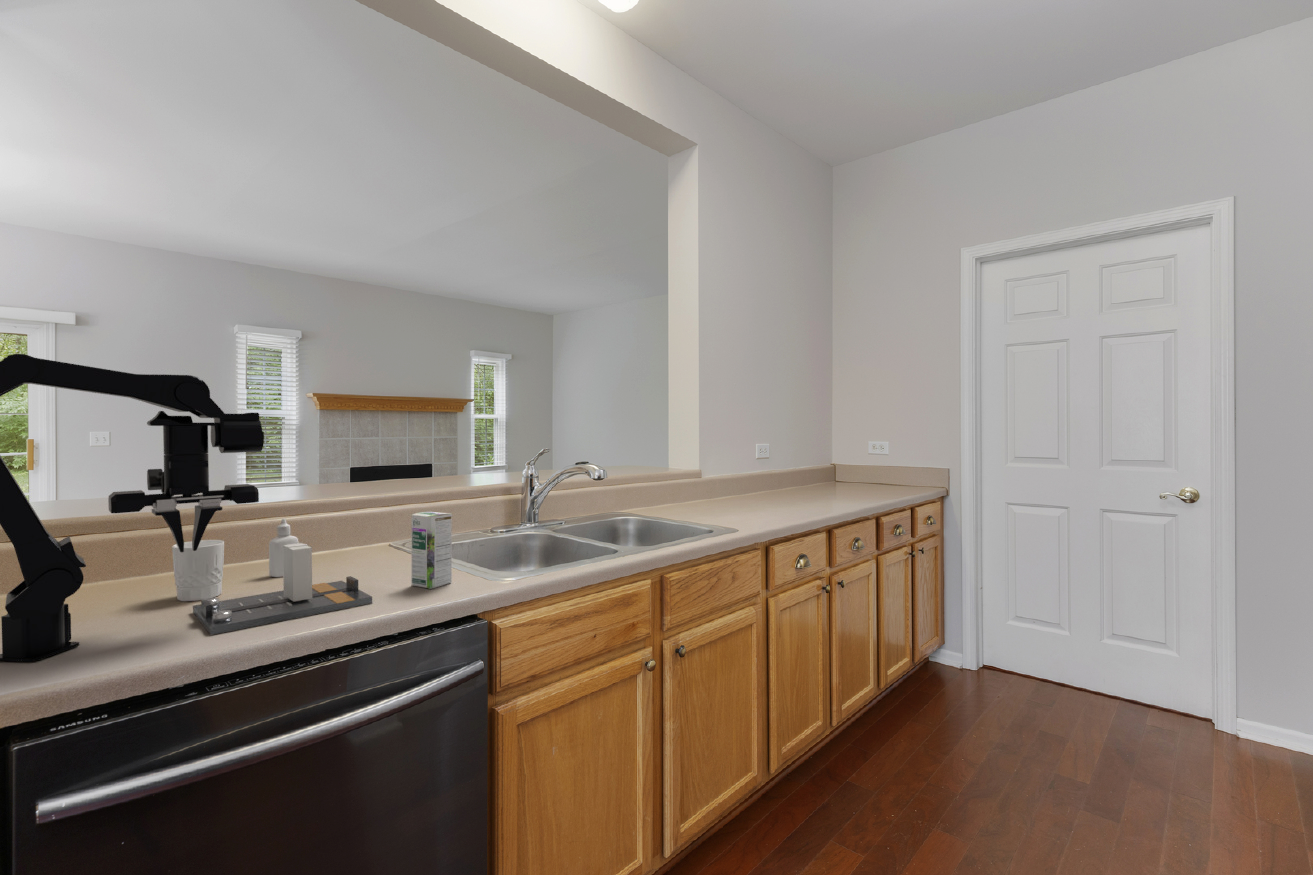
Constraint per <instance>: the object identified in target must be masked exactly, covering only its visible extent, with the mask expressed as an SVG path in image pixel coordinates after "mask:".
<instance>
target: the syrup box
mask: <svg viewBox="0 0 1313 875" xmlns="http://www.w3.org/2000/svg"><path fill="white" fill-rule="evenodd" d="M452 514H453V513H451V512H450V513H449V512H435V511H422V512H421V511H419V512H416V513H413V514H411V581H410V584H411V586H412V587H419V588H425V589H430V590H431V589H435V588H438V587H442V586H445V585H448V584H451V583H452V581H453V580H452V578H453V577H452V576H453V575H452V566H453V565H452V564H453V563H452V562H453V561H452V559H453V557H452V554H453V551H452V549H453V548H452V546H453V542H452V541H453V539H452V538H453V535H452V534H453V533H452V532H453V528H452V527H453V526H452V524H453V522H452V518H453V515H452Z"/></svg>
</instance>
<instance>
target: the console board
mask: <svg viewBox="0 0 1313 875" xmlns="http://www.w3.org/2000/svg"><path fill="white" fill-rule="evenodd" d="M345 579H346V581H343V580H337V581H331V582H321V583H316V584H312V598H311V599H305V600H300V601H294V602H293V601H292V600H290V599H289V598H287V597H286V596H285V595H284V589H283V590H277V591H271V592H267V593H261V594H255V595H254V594H253V595H248V596H242V597H237V598H230V599H224V600H220V598H218V597H213V598H209V599H204V600H200V602H201V603H200V604H194V605H192V613H193V615H195V617H196V619H198V621H199V622H200V623H201V625H202V626H203V625H204V626H203V627H204V628H205V630H206V631H207V632H208V633H209V635H211V636H214V635H220V634H223V633H228V632H229V633H230V632H233V631H234V632H235V631H239V630H238V629H240V630H244V629H248V628H249V627H250V628H253V626H255V627H258V626H257V625H260V626H264V625H270V624H274V622H275V623H279V621H280V622H284V621H290V620H295V619H299V618H300V619H301V618H306V617H310V616H315V615H319V614H325V613H330V612H333V611H334V612H335V611H339V610H345V609H349V608H354V607H360V606H365V605H370V604H373V596H372V595H370V594H368V593H366V592H364V591H362V590H361V589H359V579H357V578H355V577H354V576H346V578H345ZM269 623H270V624H269Z"/></svg>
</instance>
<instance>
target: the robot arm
mask: <svg viewBox="0 0 1313 875" xmlns="http://www.w3.org/2000/svg"><path fill="white" fill-rule="evenodd" d="M23 385H36V386H43V387H44V386H45V387H51V388H58V389H63V390H64V389H65V390H72V391H80V392H86V393H94V394H100V395H109V396H114V397H122V398H127V399H128V398H130V399H132V400H135V401H138V402H139V401H141V402H142V403H146V404H150V405H153V406H155V407H159V408H163V409H166V410H170V411H173V412H178V413H191V414H193V415H194V416H196V417H198V418H199V419H213V420H214V421H213V422H193V417H192V416H191V415H168V414H167V413H166V412H165V411H164V410H159V411H158V412H157V413H156V415H154V417H153V418H151V419H150V420H148V421H147V422H146V425H147V426H150V427H162V429H163V430H162V431H163V432H162V433H163V434H162V435H163V438H162V440H163V469H162V468H150V469H147V471H146V482H147V483H146V485H147V490H148V491H160V492H161V493H154V494H153V493H152V494H146V493H145V492H144V491H143V490H124V491H121V490H120V491H112V492H111V494H109V495H108V511H109V512H110V514H125V513H137V512H141V511H142V509H144V508H146V507H152V508H151V509H150V510H151V513H152V514H153V515H154V516H161V517H162V518H163V519H164V521H165V523H166V524H167V526H168V528H169V530H170V532H171V534H172V536H173V540H174V542H175V543H176V544H177V546H178V548H179V551H180V552H184V542H185V540H184V539H185V538H184V534H183V524H182V518H181V511H180V510H179V509H177V508H176V507H177V506H178V505H179V504H192V503H193V504H195V503H197V504H196V505H194V521H193V529H192V530H193V531H192V538H191V541H192V549H193V551H196V550H197V548H198V546H199V543H200V541H201V540H202V539H203V536H204V534H205V531H206V529H207V526H208V525H209V523H210V522H211V520H212V518H213V517H214V515H215V513H216V512H219V511H223V506H221V503H222V502H223V501H230V502H234V503H235V504H237V505H240V504H250V503H252V504H253V503H254V504H255V503H259V502H260V493H259V492H260V491H259V488H258V487H256V486H255V485H252V484H249V483H241V484H225V485H224V488H223V489H217V490H216V489H215V490H214V489H213V490H210V479H209V478H210V473H209V472H210V470H209V467H210V466H209V427H210V442H211V443H210V444H211V447H212V448H218V450H219V453H220V454H230V453H231V454H235V453H260V452H262V450H263V448H264V444H265V443H264V442H265V432H264V431H263V427H262V423H261V420H260V413H259V412H245V413H225V412H224V411H223V409H221V407H220V406H219V405H218V404H217V403H216V402H215V401H214V400H213V399H212V398H211V392H210V391H211V390H210V388H209V386H208V384H207V383H206V382H205V381H204V379H202V378H199V377H198V376H194V375H191V374H145V373H144V374H143V373H139V374H138V373H129V372H125V371H120V370H119V371H118V370H113V369H106V368H101V367H94V366H89V365H82V364H81V365H80V364H76V363H69V362H62V361H56V360H52V359H51V360H49V359H44V358H39V357H34V356H31V355H29V354H24V353H14V354H9V355H8V356H5V357H4V358H3V359H2V360H0V397H1V396H4V395H6V394H8V393H9V392H11V391H14V390H15V389H17V388H20V387H22V386H23ZM0 526H1V528H2V530H3V531H4V533H5V535H6V536H7V537H8V539H9V541H10V542H11V544H12V545H13V547H14V551H15V555H16V558H17V562H18V566H19V568H20V571H21V575H22V578H23V580H22V581H21V582H19V583H18V584H17V585H16V586H15V587H14V588H13V589H11V590H10V591H9V592H8V593H6V598H5V605H4V609H5V611H6V614H5V615H1V616H0V618H1V652H2V653H0V662H26V663H27V662H31V663H33V662H38V661H40V660H43V659H45V658H48V657H51V656H54V655H57V654H59V653H63V652H65V651H68V650H70V649H74V648H77V647H79V646H80V641H71V640H72V620H71V619H72V614H71V612H69V604H68V603H65V601H66V599H67V598H69V597H71V596H73V595H74V594H75V593H76V592H78V591H79V589H80V588H81V586H82V584H83V583H84V582H83V581H84V573H83V570H82V568H86V567H87V565H86V562H85V560H84V557H82V556H80V555H79V554H78V553H77V552H76V551H75V548H74V546H73V542H72V539H71V537H70V536H67V537H64V538H63V539H61V540H59V541H58V540H57V538H55V537H54V536H53V535H52V534H51V533H50V532H49V530H47V528H45V526H44V524H43V523H42V520H41V518H39V516H38V515H37V513H36V510H34V508H33V506H32V505H31V503H30V501H29V500H28V498H27V496H26V494H25V493H24V491H23V490H22V488H21V487H20V485H19V483H18V482H17V480H16V479H15V476H14V475H13V474H12V472H11V470H10V468H9V467H8V465H7V464H6V462H5V460H4V458H3V457H2V456H1V455H0Z"/></svg>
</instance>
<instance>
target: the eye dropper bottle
mask: <svg viewBox="0 0 1313 875" xmlns="http://www.w3.org/2000/svg"><path fill="white" fill-rule="evenodd" d="M276 528H277V529H276V530H277V532H276V534H277V536H276V537H273V538H272V539H271V540H270V541H269V543H268V571H269V572H268V574H269V577H270V578H271V577H272V578H282V577H283V545H289V544H297V543H300V542H299V538H298V537H297V536H294V535H292V534H291V525H290V524H288V522H287V519H286V518H282V519H281V523H280V524H279V525H277V526H276Z"/></svg>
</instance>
